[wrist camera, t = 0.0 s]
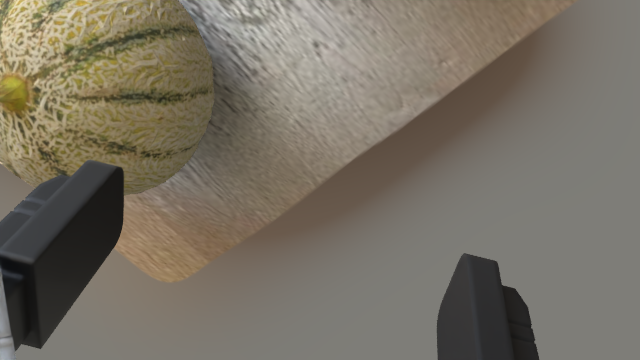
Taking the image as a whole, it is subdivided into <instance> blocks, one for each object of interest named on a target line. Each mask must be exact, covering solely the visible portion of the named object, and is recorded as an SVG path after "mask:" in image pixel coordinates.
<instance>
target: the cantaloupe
mask: <svg viewBox="0 0 640 360" xmlns="http://www.w3.org/2000/svg"><path fill="white" fill-rule="evenodd" d="M213 104H214V89H213V69H212V60H211V56H210V55H209V53H208V51H207V49H206V46H205V44H204V41H203V39H202V37H201V35H200V33H199V31H198V28H197V26H196V24H195V22H194V21H193V19H192V18H191V16H190V15H189V13H188V12H187V10H186V9H185V8H184V7H183V5H182V4H181V3H180V2H179V1H178V0H0V163H1V164H2V165H3V166H4V167H6V168H7V169H8V170H9V171H10V172H12V173H13V174H15V175H16V176H18V177H19V178H21V179H23V180H24V181H26V182H27V183H28V184H30V185H31V186H33V187H35V188H36V187H37V186H38V185H39V184H41V183H43V182H46V181H48V180H50V179H52V178H54V177H57V176H59V175H65V176H69V177H71V176H72V175H73V174H74V173H75V172H76V171H77V170H78V169H79V168H80V167H81V166H82V165H83V164H84V163H85V162H86V161H87V160H94V161H98V162H102V163H106V164H110V165H114V166H118V167H122V169H123V171H124V195H129V194H136V193H141V192H144V191H145V190H148V189H151V188H154V187H157V186H158V185H160V184H162V183H164V182H166V181H167V180H168V179H169V178H170V177H172V176H174V175H175V174H176V173H177V172H178V171H179V170H180V169H181V168H182V167H183V166H185V164H186V163H187V162H188V161H189V160H190V159H191V157H192V156H193V154H194V152H195V151H196V150H197V148H198V143H199V141H200V139H201V137H202V136H203V135H204V134H205V131H206V129H207V127H208V123H209V120H210V118H211V114H212V106H213Z"/></svg>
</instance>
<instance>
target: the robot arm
mask: <svg viewBox="0 0 640 360" xmlns="http://www.w3.org/2000/svg"><path fill="white" fill-rule="evenodd" d="M123 208H124V171H123V169H122V167H118V166H114V165H110V164H106V163H102V162H98V161H94V160H87V161H86V162H85V163H84V164H83V165H82V166H81V167H80V168H79V169H78V170H77V171H76V172H75V173H74V174H73V175H72V176H71V177H69V176H65V175H59V176H57V177H54V178H52V179H50V180H48V181H46V182H43V183H41V184H39V185H38V186H37V187H36V188H35V189H34V190H33V191H32V192H31V193H30V194H29V195H28V196H27V197H26V199H25V200H23V201H22V202H21V203H20V204H18V205H17V206H16V207H15V208H14V211H11V212H10V213H9V214H8V215H7V216H6V217H5V218H4V219H3V220H2V221H1V222H0V360H16V356H15V351H16V350H17V349H18V348H19V346H20V345H21V344H24V345H28V346H32V347H36V348H39V349H41V348H42V346H43V345H44V344H45V342H46V341H47V339H48V338H49V337H50V335H51V334H52V333H53V331H54V329H55V328H56V327H57V326H58V324H59V323H60V321H61V320H62V319H63V317H64V316H65V315H66V313H67V311H68V310H69V309H70V308H71V306H72V305H73V303H74V302H75V301H76V299H77V298H78V297H79V295H80V294H81V292H82V291H83V290H84V288H85V287H86V285H87V284H88V283H89V281H90V280H91V279H92V277H93V276H94V274H95V273H96V272H97V270H98V269H99V267H100V266H101V265H102V263H103V262H104V261H105V259H106V258H107V256H108V255H109V254H110V252H111V251H112V249H113V248H114V247H115V245H116V243H117V241H118V239H119V236H120V234H121V230H122V226H123ZM531 325H532V324H531V320H530V316H529V311H528V307H527V305H526V304H525V302H524V301H523V299H522V298H521V296H520V295H519V294H518V292H517V291H516V289H514V288H511V287H507V286H503V285H502V284H501V279H500V272H499V267H498V263H497V262H496V261H493V260H490V259H485V258H481V257H477V256H473V255H469V254H465V253H464V254H463V255H462V256H461V258H460V260H459V262H458V264H457V267H456V269H455V272H454V274H453V276H452V279H451V281H450V283H449V286H448V288H447V291H446V293H445V295H444V298H443V300H442V303H441V306H440V310H439V315H438V320H437V348H438V360H539V356H538V352H537V347H536V344H534V341H535V338H534V334H533V330H532V329H531Z"/></svg>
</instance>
